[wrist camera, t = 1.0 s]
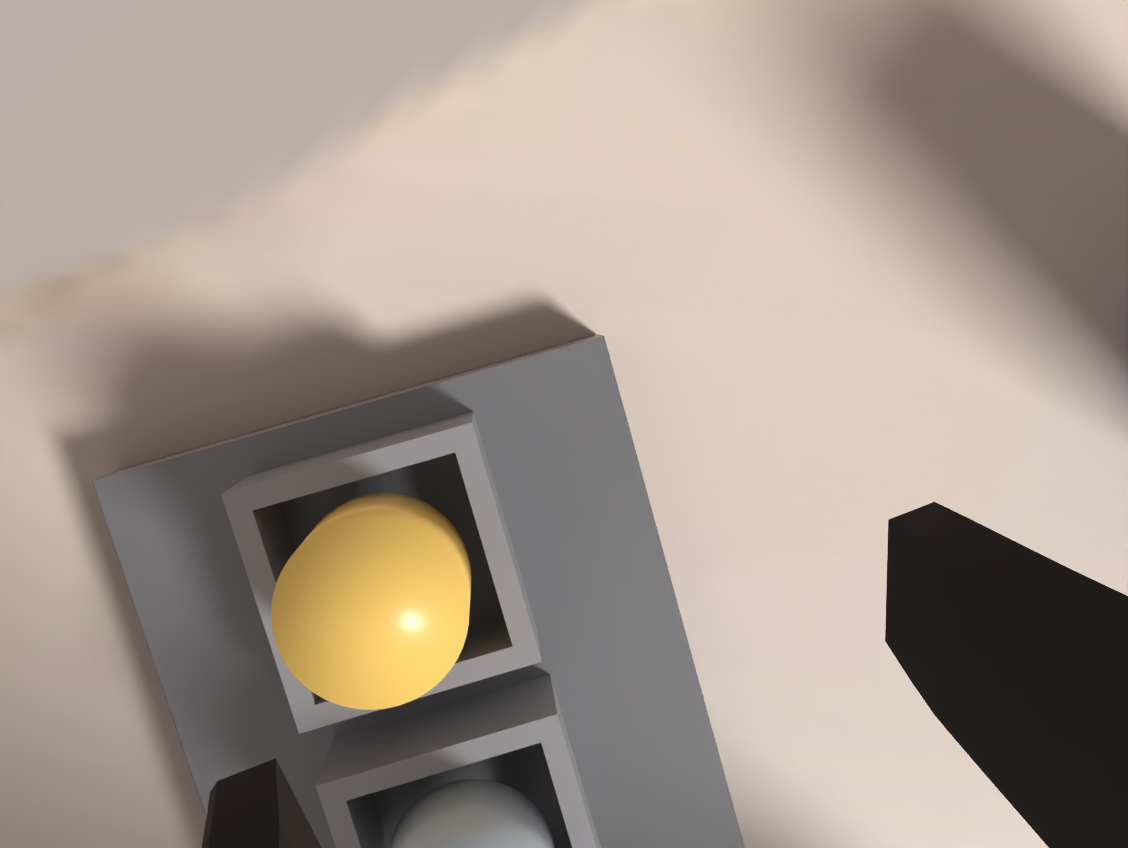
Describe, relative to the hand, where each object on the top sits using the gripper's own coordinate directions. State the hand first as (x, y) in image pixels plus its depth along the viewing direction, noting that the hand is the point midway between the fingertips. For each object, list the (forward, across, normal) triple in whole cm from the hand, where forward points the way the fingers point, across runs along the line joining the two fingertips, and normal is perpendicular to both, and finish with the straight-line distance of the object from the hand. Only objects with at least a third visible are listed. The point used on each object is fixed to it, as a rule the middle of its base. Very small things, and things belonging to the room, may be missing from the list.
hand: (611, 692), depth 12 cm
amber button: (+10, +2, +6) cm, 11 cm away
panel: (+10, +2, +13) cm, 16 cm away
